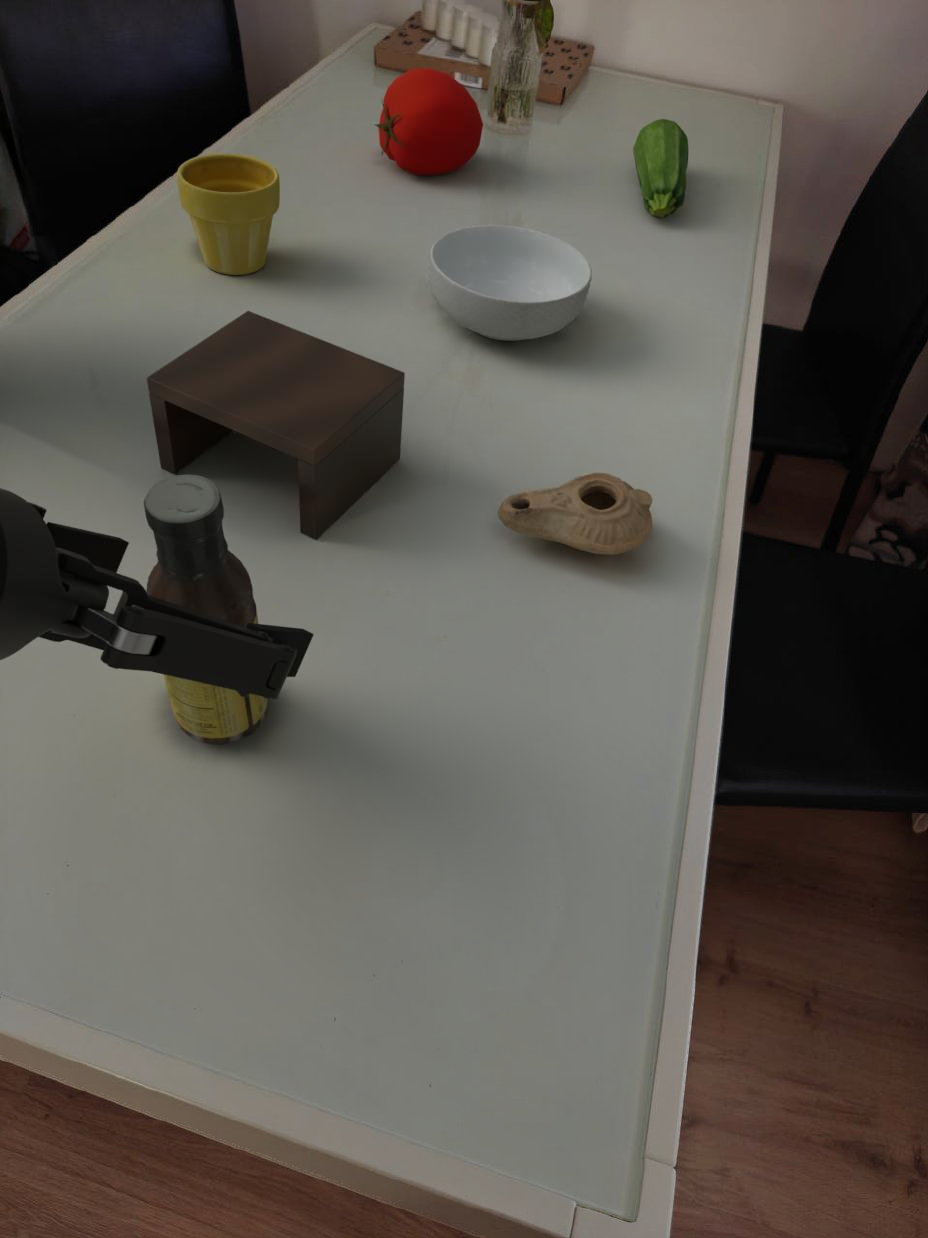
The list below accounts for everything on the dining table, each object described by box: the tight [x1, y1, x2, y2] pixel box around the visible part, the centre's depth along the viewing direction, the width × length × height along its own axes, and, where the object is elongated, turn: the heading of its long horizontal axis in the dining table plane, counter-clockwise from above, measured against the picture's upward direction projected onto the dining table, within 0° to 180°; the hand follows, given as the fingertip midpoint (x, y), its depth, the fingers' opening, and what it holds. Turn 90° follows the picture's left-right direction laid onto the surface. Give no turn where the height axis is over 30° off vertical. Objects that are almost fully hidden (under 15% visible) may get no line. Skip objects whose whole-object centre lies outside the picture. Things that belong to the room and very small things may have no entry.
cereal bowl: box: [428, 224, 592, 342], centre depth 104 cm, size 17×17×7 cm
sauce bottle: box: [143, 474, 268, 745], centre depth 60 cm, size 6×6×20 cm
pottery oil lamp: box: [497, 472, 654, 555], centre depth 81 cm, size 9×12×7 cm
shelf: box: [146, 310, 406, 541], centre depth 83 cm, size 16×13×9 cm
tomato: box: [374, 67, 484, 176], centre depth 128 cm, size 13×13×13 cm
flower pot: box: [176, 152, 281, 276], centre depth 107 cm, size 10×10×10 cm
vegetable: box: [632, 118, 689, 219], centre depth 130 cm, size 7×7×20 cm
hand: (205, 605), depth 59 cm, fingers open, 13 cm apart
